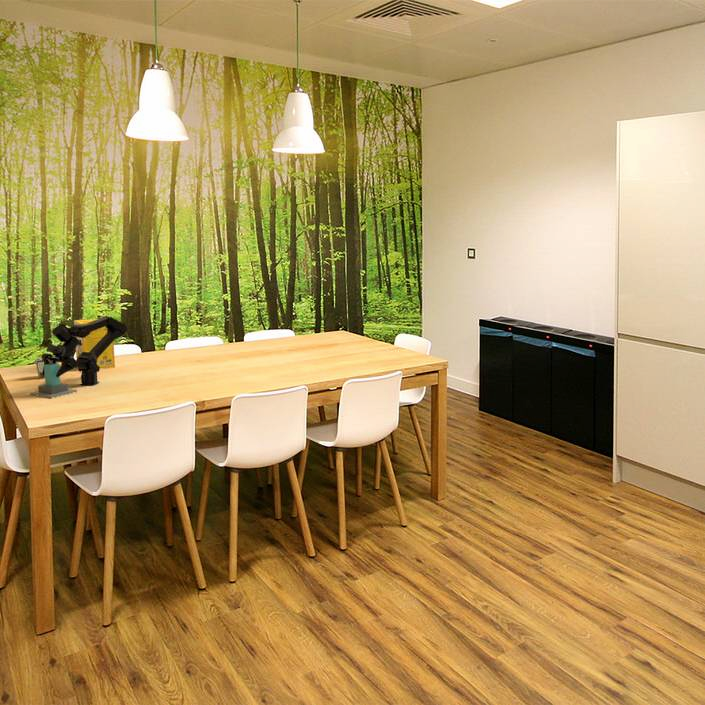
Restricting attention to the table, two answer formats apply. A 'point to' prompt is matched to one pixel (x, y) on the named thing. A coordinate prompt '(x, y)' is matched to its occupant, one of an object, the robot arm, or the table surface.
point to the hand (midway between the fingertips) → (49, 375)
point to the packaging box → (91, 340)
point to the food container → (40, 366)
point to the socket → (53, 390)
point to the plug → (51, 374)
